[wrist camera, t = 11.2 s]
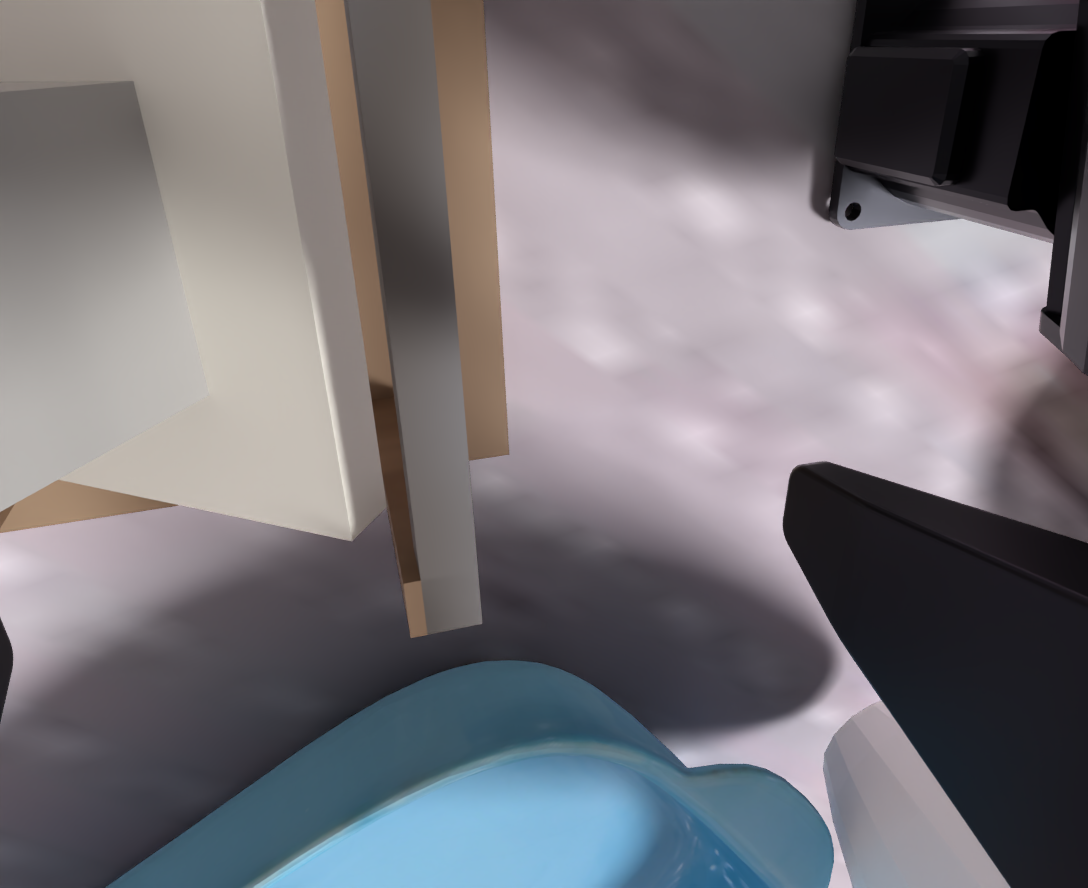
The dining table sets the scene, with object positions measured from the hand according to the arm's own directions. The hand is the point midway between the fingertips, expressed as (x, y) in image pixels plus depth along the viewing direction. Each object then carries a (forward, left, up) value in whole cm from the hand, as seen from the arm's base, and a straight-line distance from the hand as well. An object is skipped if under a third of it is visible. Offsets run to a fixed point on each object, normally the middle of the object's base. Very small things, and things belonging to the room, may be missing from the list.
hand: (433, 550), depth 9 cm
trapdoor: (+4, -2, -8) cm, 9 cm away
